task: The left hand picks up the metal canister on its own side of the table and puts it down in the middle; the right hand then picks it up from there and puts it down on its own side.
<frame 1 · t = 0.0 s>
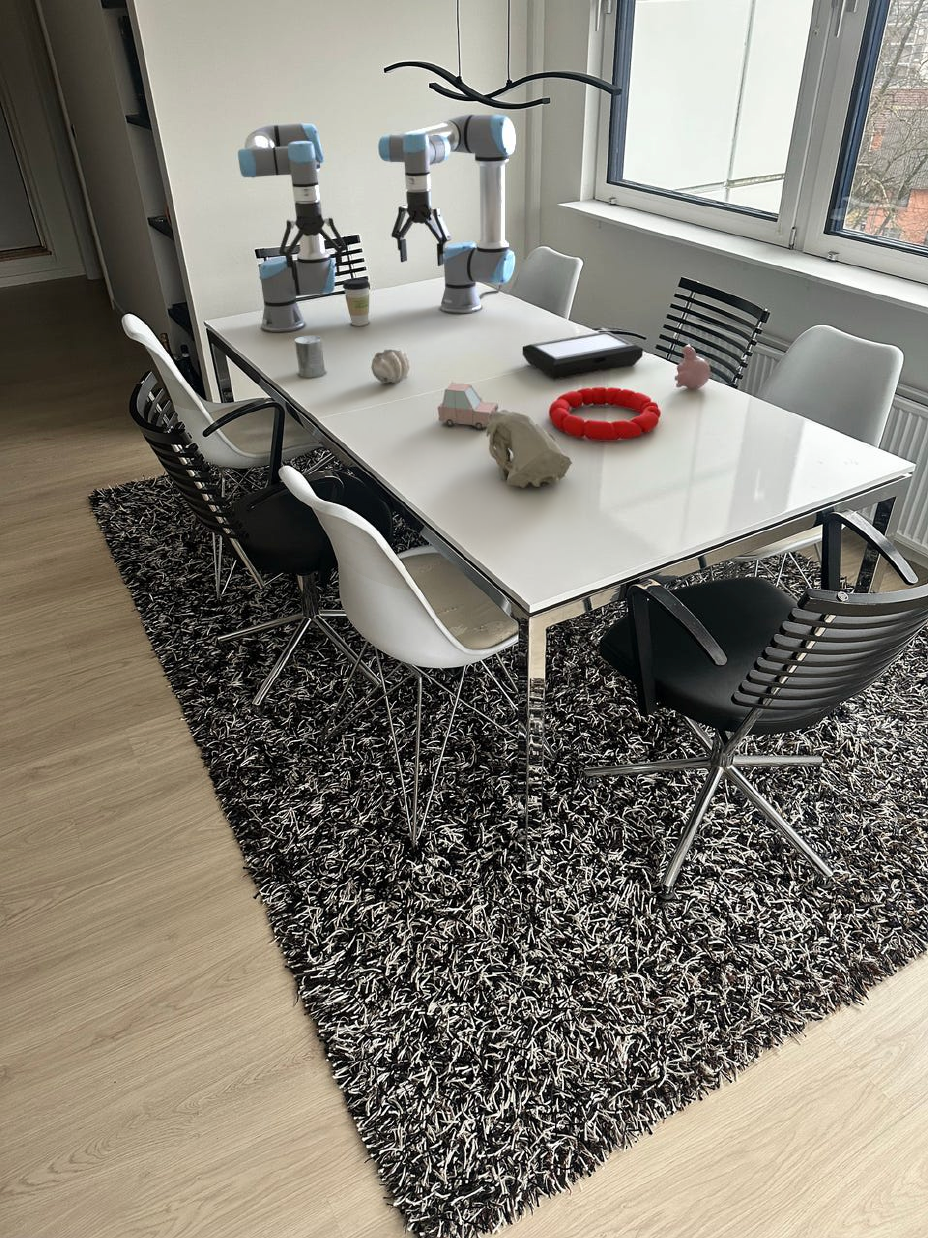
left hand: (316, 276, 273), 28 cm above the table, tool pointing down, fingers open, 13 cm apart
right hand: (422, 263, 283), 28 cm above the table, tool pointing down, fingers open, 13 cm apart
seashell: (392, 382, 274), on the table
figurine: (690, 388, 263), on the table
animal skull: (520, 470, 220), on the table
electronic device: (581, 364, 283), on the table
canister: (312, 373, 283), on the table
toy car: (468, 423, 246), on the table
coffee cup: (360, 323, 327), on the table
decorative ring: (603, 422, 244), on the table
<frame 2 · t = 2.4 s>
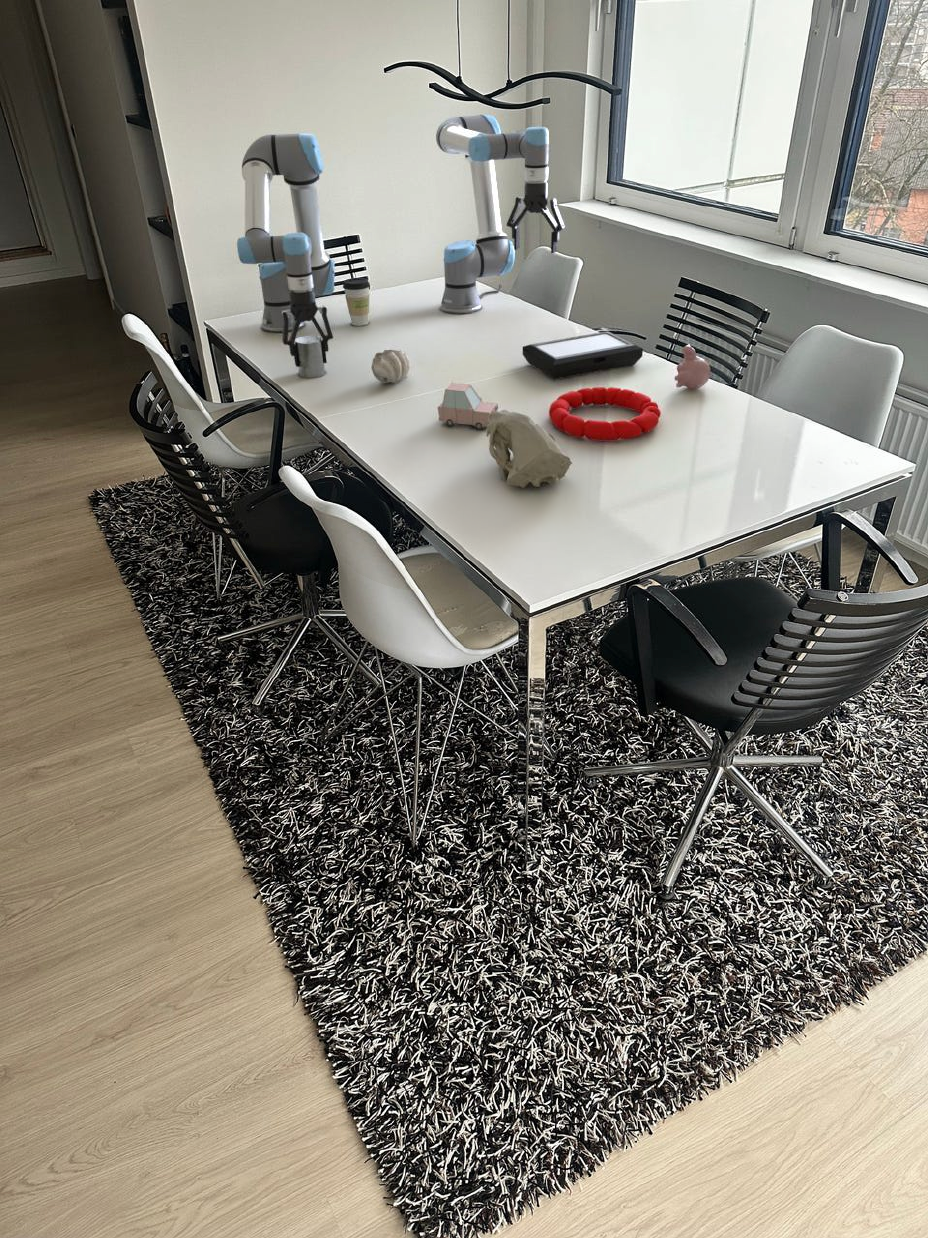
left hand: (310, 363, 281), 3 cm above the table, tool pointing down, fingers closed on canister, 8 cm apart
right hand: (535, 250, 301), 26 cm above the table, tool pointing down, fingers open, 13 cm apart
canister: (312, 373, 283), on the table, touching left hand
everything else where it was.
when the left hand's fingers open (4 cm above the table, at t = 6.7 s): canister drops 1 cm, on the table.
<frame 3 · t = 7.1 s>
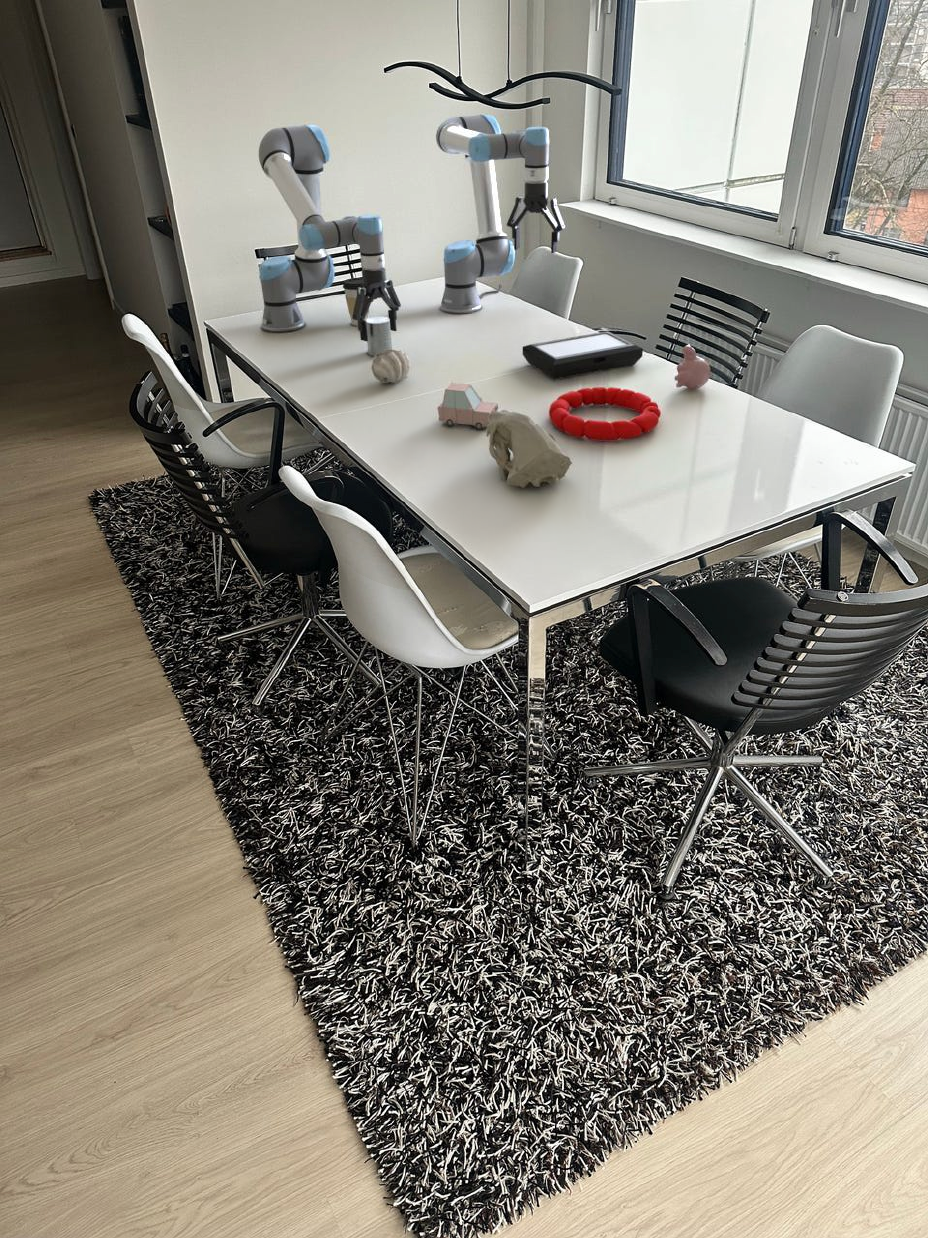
left hand: (378, 335, 295), 6 cm above the table, tool pointing down, fingers open, 13 cm apart
right hand: (535, 250, 301), 26 cm above the table, tool pointing down, fingers open, 13 cm apart
canister: (380, 352, 299), on the table
everything else where it was.
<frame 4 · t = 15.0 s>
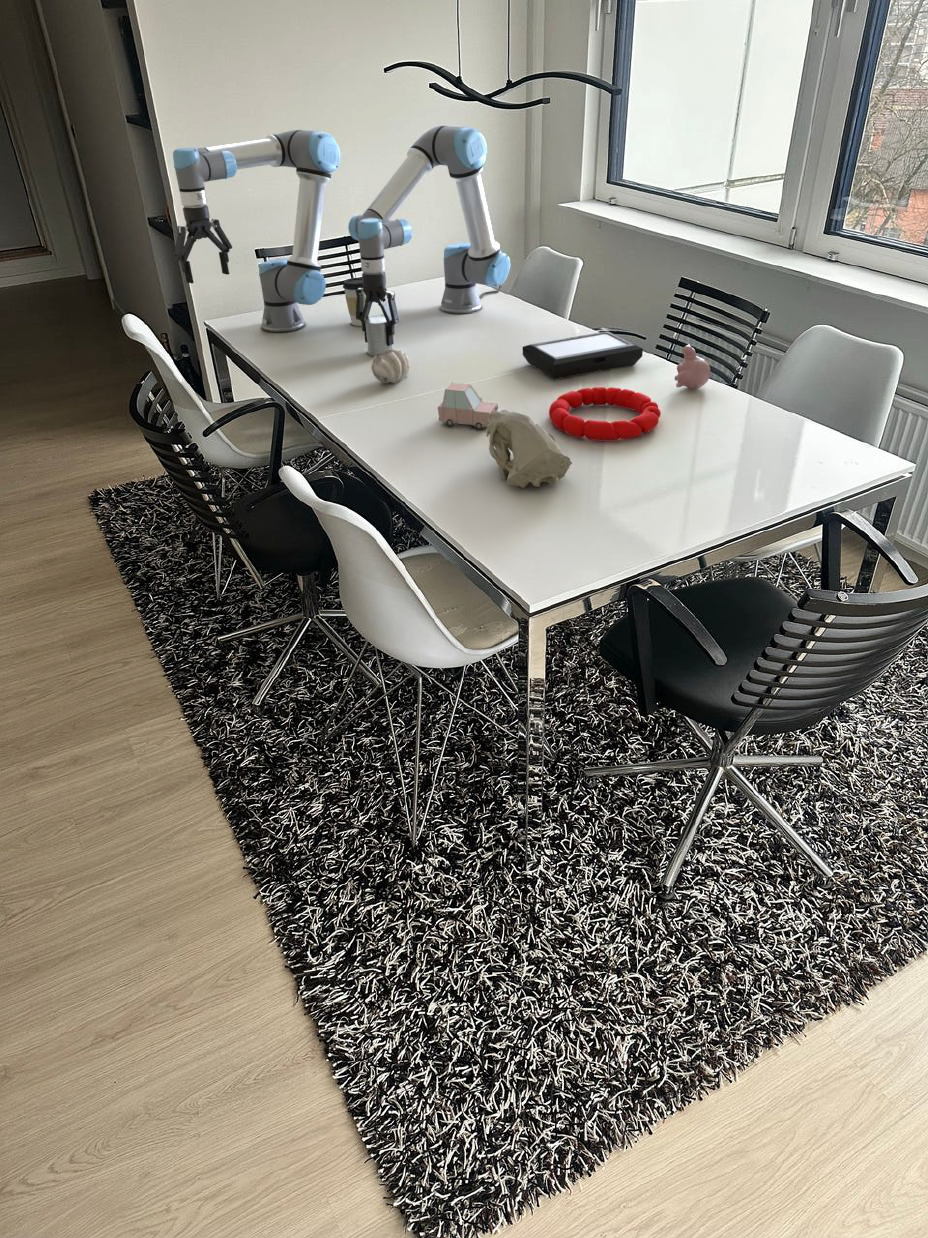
left hand: (208, 278, 283), 26 cm above the table, tool pointing down, fingers open, 13 cm apart
right hand: (379, 342, 297), 3 cm above the table, tool pointing down, fingers closed on canister, 8 cm apart
canister: (380, 352, 299), on the table, touching right hand
everything else where it was.
when the right hand's fingers open (4 cm above the table, at t = 19.9 s): canister drops 1 cm, on the table.
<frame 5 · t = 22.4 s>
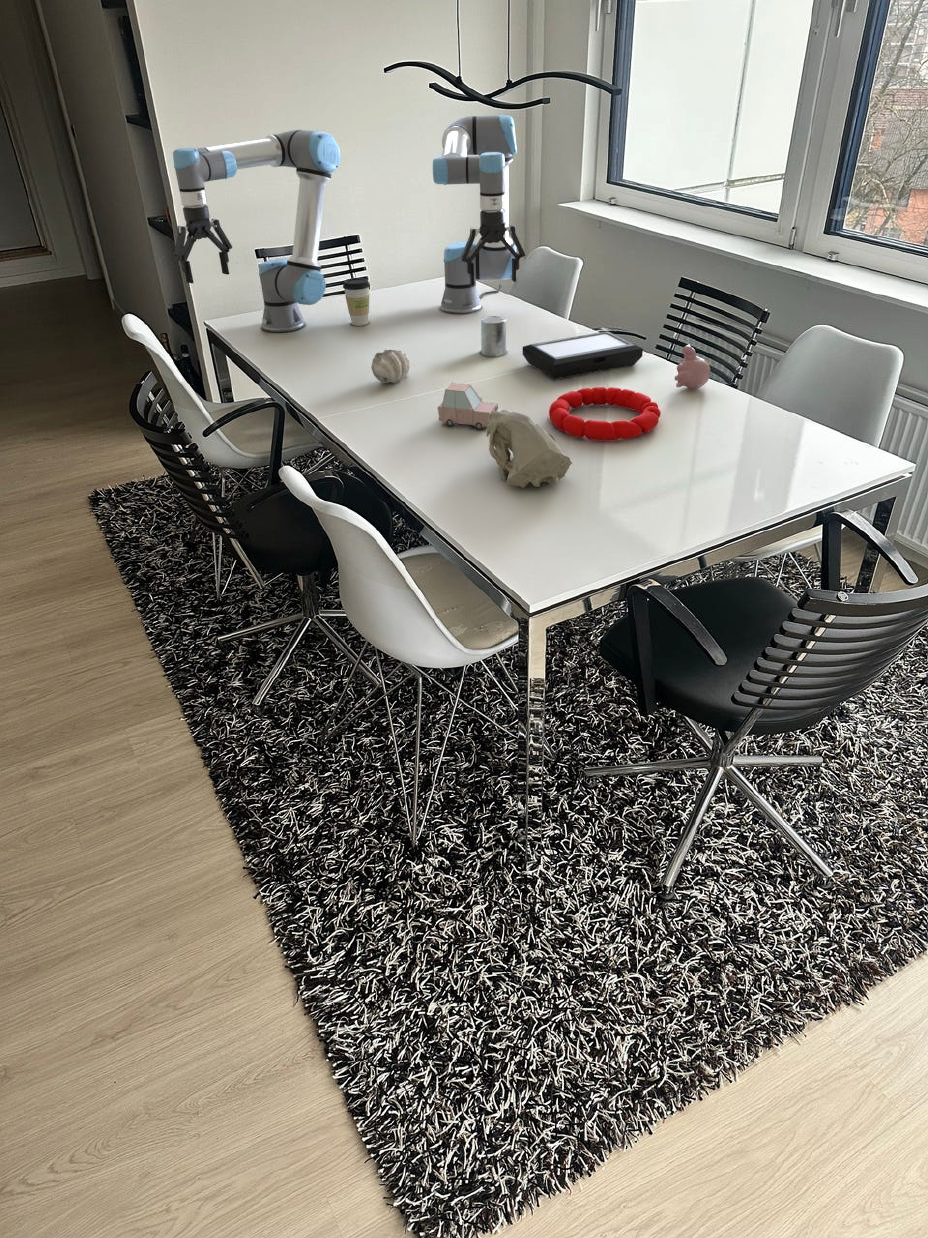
left hand: (208, 278, 283), 26 cm above the table, tool pointing down, fingers open, 13 cm apart
right hand: (493, 282, 282), 22 cm above the table, tool pointing down, fingers open, 13 cm apart
canister: (493, 352, 295), on the table
everything else where it was.
at the end: canister inside the target area (0.2 cm from its centre), on the table; canister tilted 0°; the two hands never held the canister at the same time; the left hand is holding nothing; the right hand is holding nothing; canister at rest at the end (0.0 cm/s) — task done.
